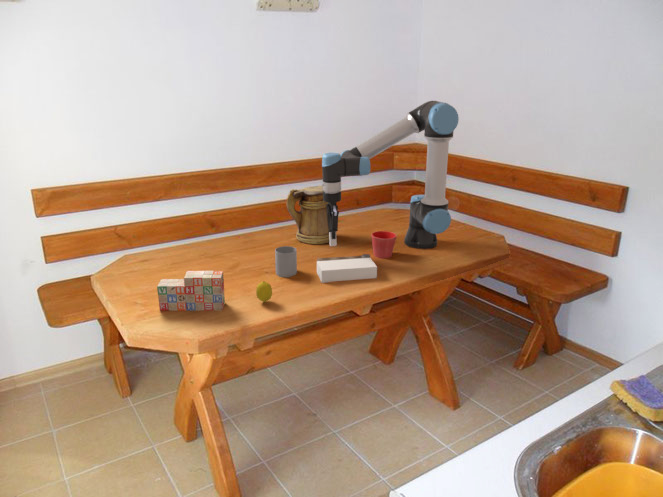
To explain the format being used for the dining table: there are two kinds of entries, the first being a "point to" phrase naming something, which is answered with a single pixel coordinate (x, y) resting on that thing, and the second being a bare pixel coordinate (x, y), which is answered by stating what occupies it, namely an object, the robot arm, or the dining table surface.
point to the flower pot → (383, 243)
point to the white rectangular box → (346, 269)
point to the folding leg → (344, 257)
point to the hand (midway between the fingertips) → (333, 245)
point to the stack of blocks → (192, 292)
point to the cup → (286, 261)
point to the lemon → (264, 291)
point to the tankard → (309, 214)
